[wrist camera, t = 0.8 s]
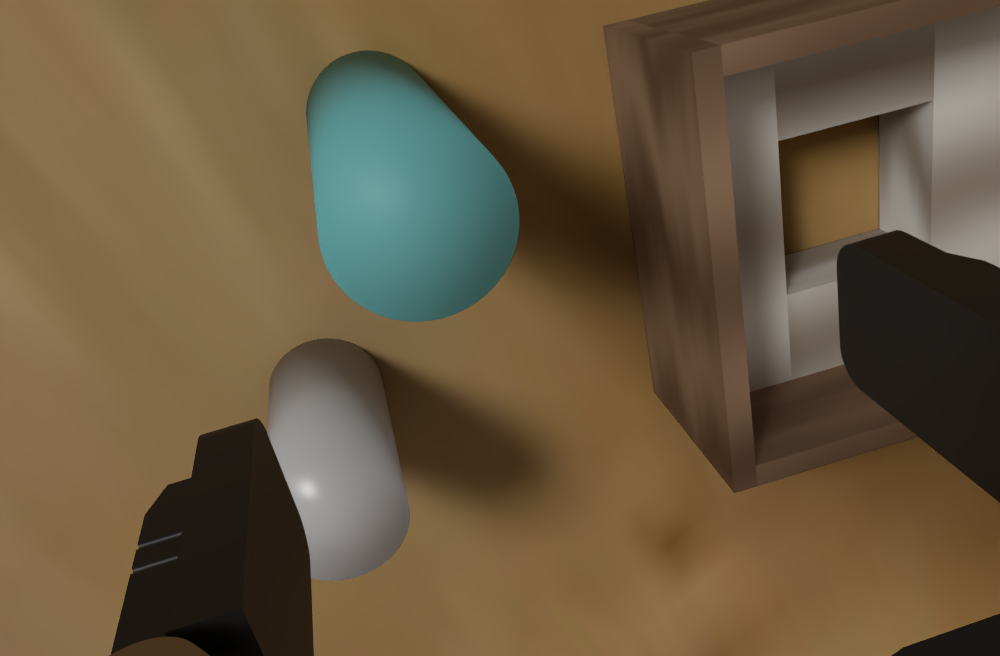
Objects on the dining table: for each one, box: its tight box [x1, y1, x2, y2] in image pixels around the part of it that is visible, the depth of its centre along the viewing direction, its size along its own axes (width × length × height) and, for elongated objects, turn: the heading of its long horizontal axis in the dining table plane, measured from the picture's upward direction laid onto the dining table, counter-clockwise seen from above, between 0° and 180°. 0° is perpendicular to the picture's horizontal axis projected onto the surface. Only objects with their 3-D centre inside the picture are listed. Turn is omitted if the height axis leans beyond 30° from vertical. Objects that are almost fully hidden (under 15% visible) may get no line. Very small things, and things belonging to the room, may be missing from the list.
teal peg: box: [306, 51, 519, 322], centre depth 23 cm, size 4×4×12 cm
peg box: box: [604, 0, 1000, 493], centre depth 30 cm, size 14×20×7 cm
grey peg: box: [267, 339, 410, 581], centre depth 28 cm, size 4×4×8 cm
